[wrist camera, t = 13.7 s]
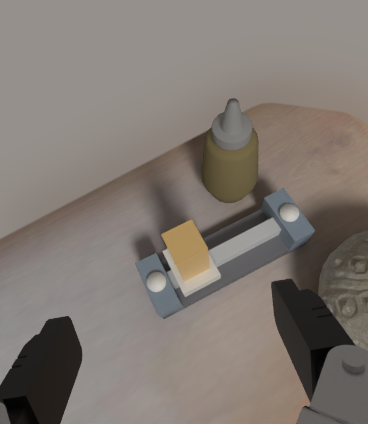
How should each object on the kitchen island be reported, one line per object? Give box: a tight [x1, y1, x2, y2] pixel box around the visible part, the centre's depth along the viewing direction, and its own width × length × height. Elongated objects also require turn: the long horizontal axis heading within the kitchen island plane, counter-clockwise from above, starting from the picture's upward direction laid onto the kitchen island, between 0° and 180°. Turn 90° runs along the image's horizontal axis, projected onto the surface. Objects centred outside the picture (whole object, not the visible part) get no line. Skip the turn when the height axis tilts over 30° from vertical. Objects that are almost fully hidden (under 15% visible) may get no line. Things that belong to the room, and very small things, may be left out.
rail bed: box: [135, 188, 315, 319], centre depth 42 cm, size 22×7×5 cm, turn 116°
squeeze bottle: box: [202, 98, 258, 203], centre depth 41 cm, size 8×8×18 cm
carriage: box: [161, 219, 221, 297], centre depth 37 cm, size 5×6×12 cm
